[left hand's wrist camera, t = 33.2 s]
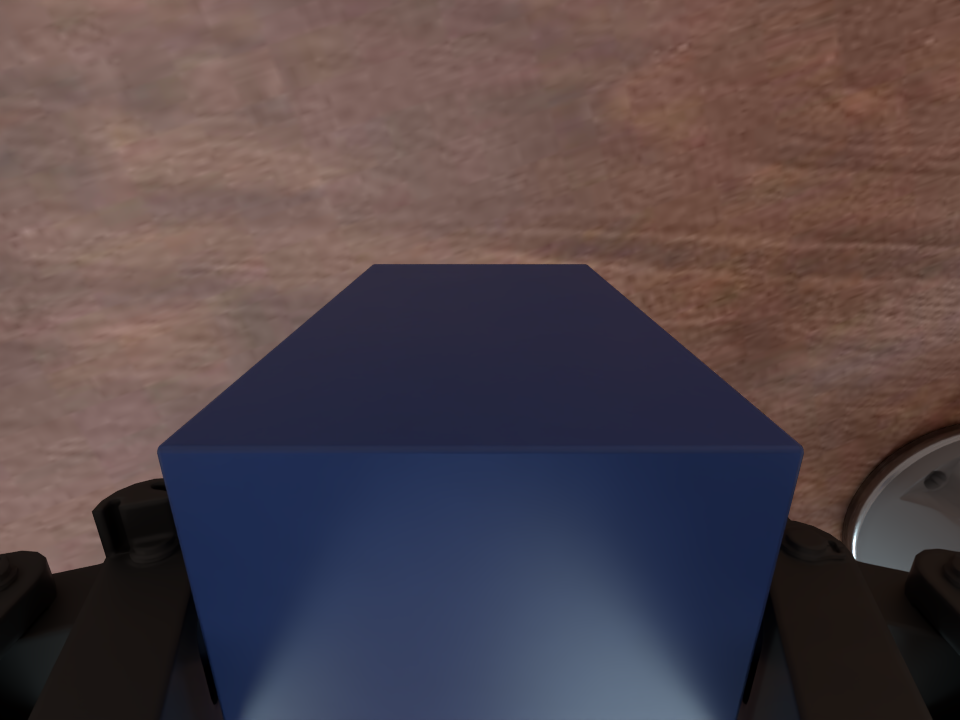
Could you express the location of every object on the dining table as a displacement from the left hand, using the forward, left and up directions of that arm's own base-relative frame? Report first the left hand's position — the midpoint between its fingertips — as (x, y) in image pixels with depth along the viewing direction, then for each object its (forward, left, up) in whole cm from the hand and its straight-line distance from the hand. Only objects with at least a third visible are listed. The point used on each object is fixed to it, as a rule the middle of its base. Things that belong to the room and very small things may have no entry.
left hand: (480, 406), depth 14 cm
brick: (0, 0, -3) cm, 3 cm away
